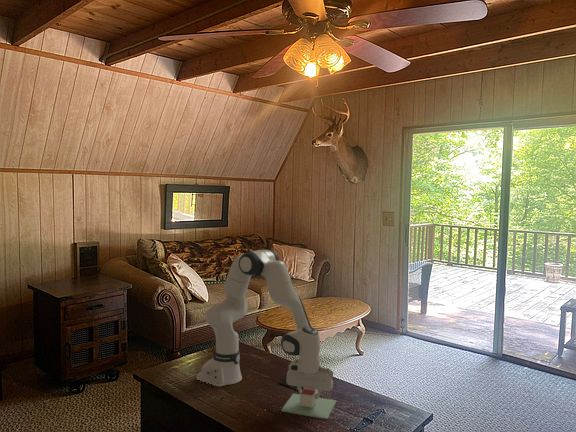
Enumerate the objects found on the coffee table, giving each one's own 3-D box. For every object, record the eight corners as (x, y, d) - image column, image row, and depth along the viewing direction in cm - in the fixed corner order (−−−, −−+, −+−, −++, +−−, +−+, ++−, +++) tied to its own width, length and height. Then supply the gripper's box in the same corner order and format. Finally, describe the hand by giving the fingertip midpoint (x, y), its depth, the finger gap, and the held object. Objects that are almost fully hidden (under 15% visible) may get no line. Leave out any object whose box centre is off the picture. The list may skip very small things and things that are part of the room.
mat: (281, 411, 182) (281, 409, 182) (293, 394, 197) (293, 393, 197) (327, 419, 175) (327, 418, 175) (336, 401, 190) (336, 400, 190)
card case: (306, 396, 191) (306, 384, 191) (318, 398, 189) (318, 386, 189) (300, 405, 182) (300, 393, 182) (312, 407, 181) (312, 395, 180)
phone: (288, 376, 214) (313, 384, 205) (288, 378, 215) (313, 387, 205) (278, 382, 208) (303, 390, 199) (278, 384, 208) (303, 393, 199)
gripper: (335, 366, 185) (334, 397, 185) (289, 360, 191) (289, 390, 192) (331, 372, 179) (331, 404, 179) (285, 365, 185) (284, 396, 186)
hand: (309, 397), depth 186 cm, fingers closed on card case, 5 cm apart
